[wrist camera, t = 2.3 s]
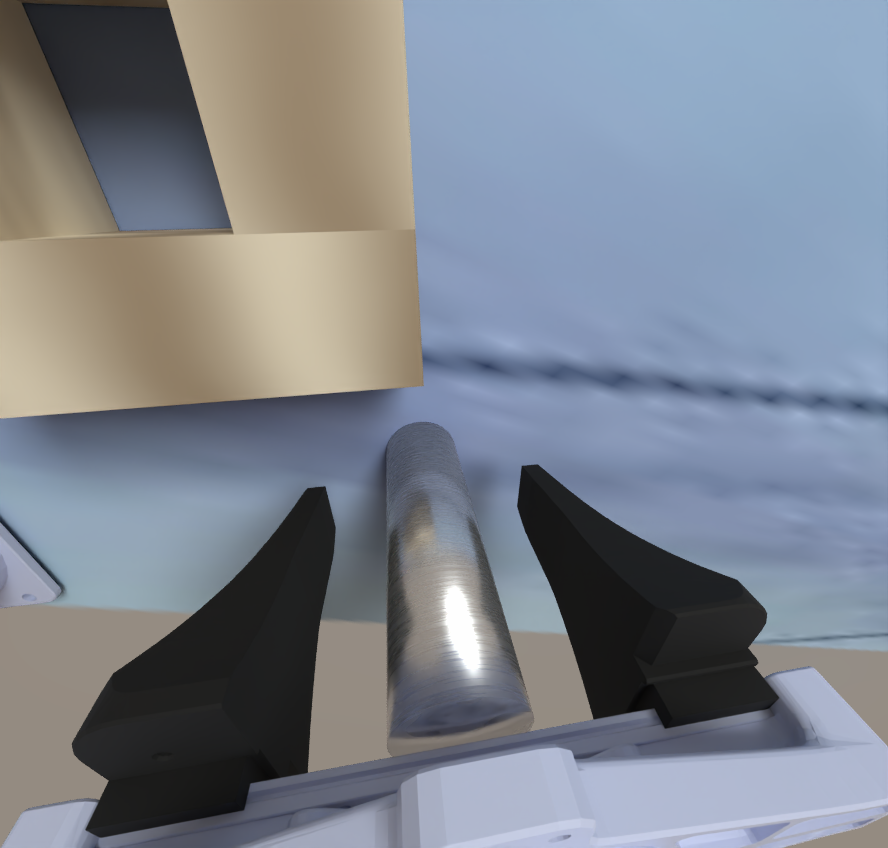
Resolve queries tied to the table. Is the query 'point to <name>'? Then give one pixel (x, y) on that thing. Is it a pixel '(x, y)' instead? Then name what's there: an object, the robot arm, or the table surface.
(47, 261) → the knuckle block
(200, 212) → the table surface
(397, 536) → the peg
